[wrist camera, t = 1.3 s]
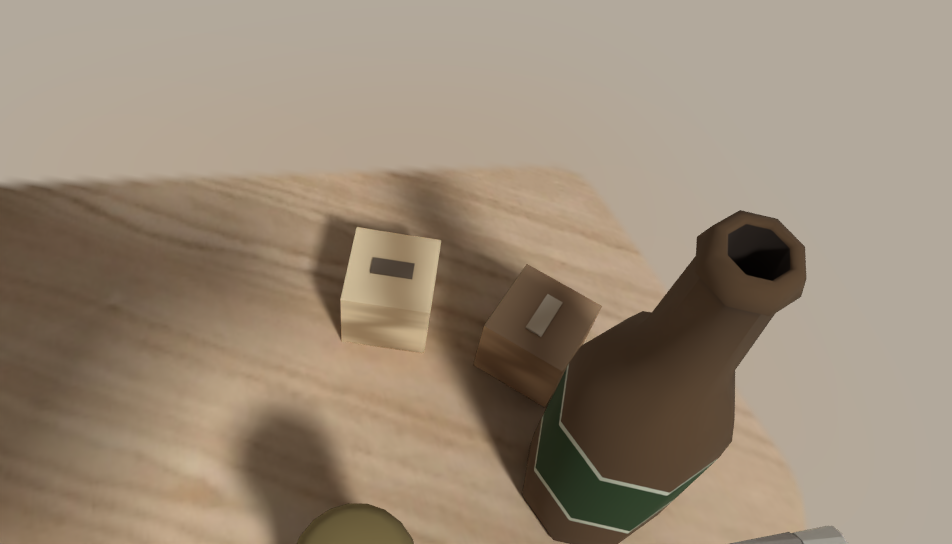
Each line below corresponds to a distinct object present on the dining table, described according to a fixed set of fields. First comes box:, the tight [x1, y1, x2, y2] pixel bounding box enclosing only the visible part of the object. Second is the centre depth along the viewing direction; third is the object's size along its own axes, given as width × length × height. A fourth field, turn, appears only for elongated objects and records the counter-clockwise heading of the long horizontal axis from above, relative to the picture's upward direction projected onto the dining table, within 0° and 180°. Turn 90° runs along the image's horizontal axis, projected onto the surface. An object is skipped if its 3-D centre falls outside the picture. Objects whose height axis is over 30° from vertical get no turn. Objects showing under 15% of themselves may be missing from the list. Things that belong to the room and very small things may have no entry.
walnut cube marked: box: [473, 264, 602, 407], centre depth 48 cm, size 5×5×5 cm
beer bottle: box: [522, 210, 806, 544], centre depth 36 cm, size 8×8×24 cm
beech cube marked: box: [340, 227, 441, 353], centre depth 49 cm, size 5×5×5 cm
